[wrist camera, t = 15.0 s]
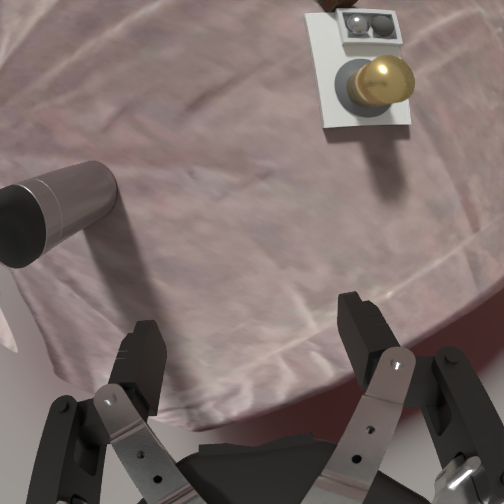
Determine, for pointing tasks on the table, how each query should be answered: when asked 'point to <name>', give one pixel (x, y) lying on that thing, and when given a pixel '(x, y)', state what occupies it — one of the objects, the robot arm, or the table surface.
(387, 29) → the rubber ball
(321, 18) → the plate
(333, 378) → the table surface
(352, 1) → the bolt
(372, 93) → the ball
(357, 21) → the steel ball
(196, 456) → the robot arm
